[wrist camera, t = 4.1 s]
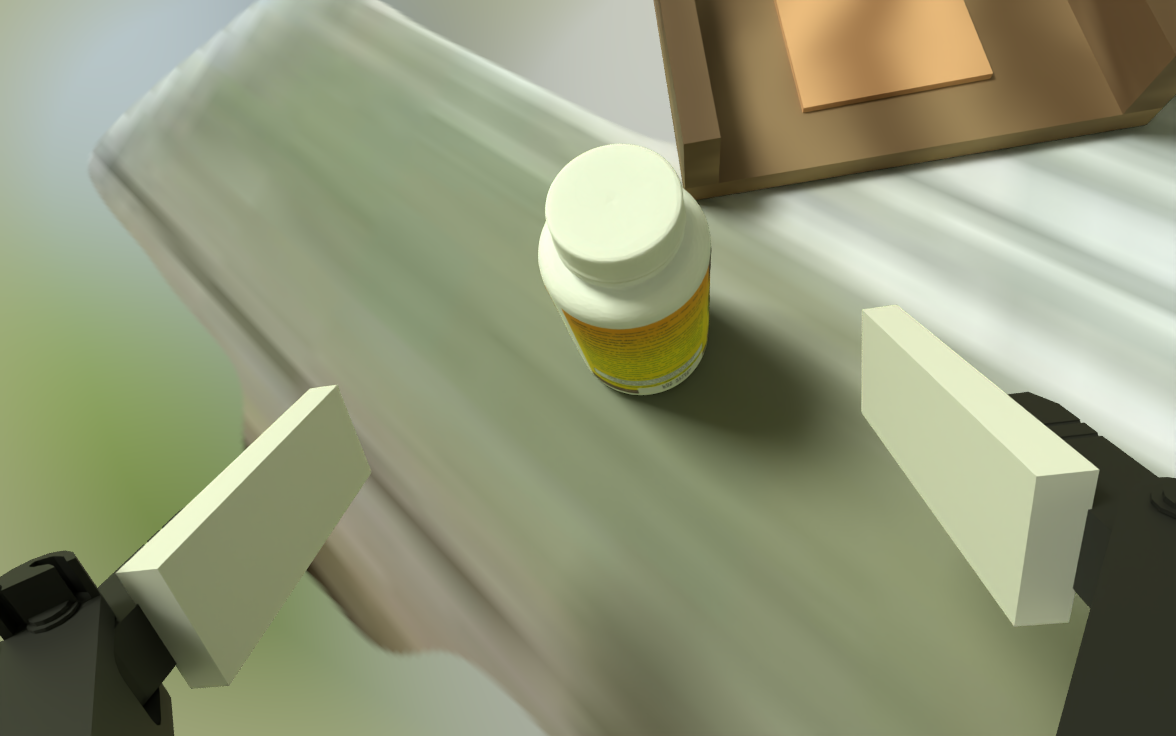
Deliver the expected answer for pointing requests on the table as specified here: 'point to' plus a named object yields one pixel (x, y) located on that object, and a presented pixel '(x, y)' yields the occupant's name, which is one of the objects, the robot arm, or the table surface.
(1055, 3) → the wooden tray with rails
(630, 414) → the table surface
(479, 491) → the table surface
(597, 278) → the supplement bottle
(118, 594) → the robot arm
